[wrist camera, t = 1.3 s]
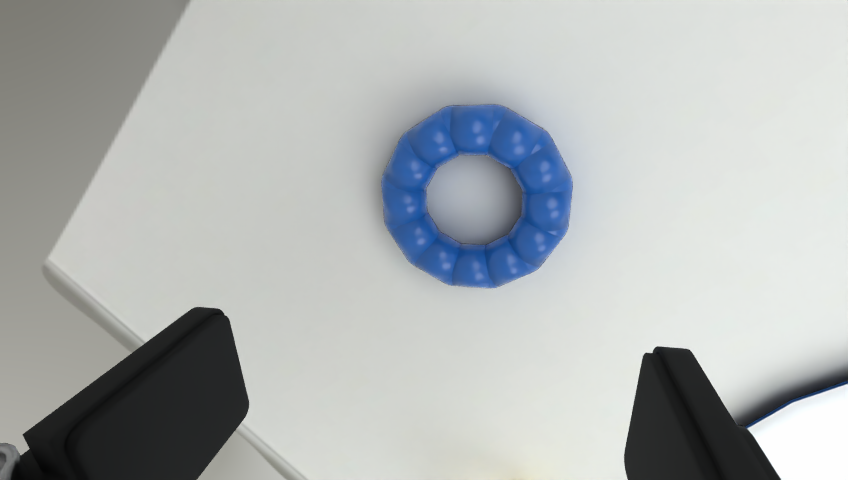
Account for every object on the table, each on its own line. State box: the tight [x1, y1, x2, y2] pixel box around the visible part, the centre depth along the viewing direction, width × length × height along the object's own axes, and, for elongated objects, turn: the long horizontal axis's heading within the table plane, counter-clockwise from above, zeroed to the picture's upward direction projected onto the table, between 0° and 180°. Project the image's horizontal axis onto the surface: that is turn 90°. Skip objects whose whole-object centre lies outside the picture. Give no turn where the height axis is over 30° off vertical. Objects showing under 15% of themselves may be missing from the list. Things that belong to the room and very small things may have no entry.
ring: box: [381, 105, 573, 288], centre depth 20 cm, size 9×9×2 cm
